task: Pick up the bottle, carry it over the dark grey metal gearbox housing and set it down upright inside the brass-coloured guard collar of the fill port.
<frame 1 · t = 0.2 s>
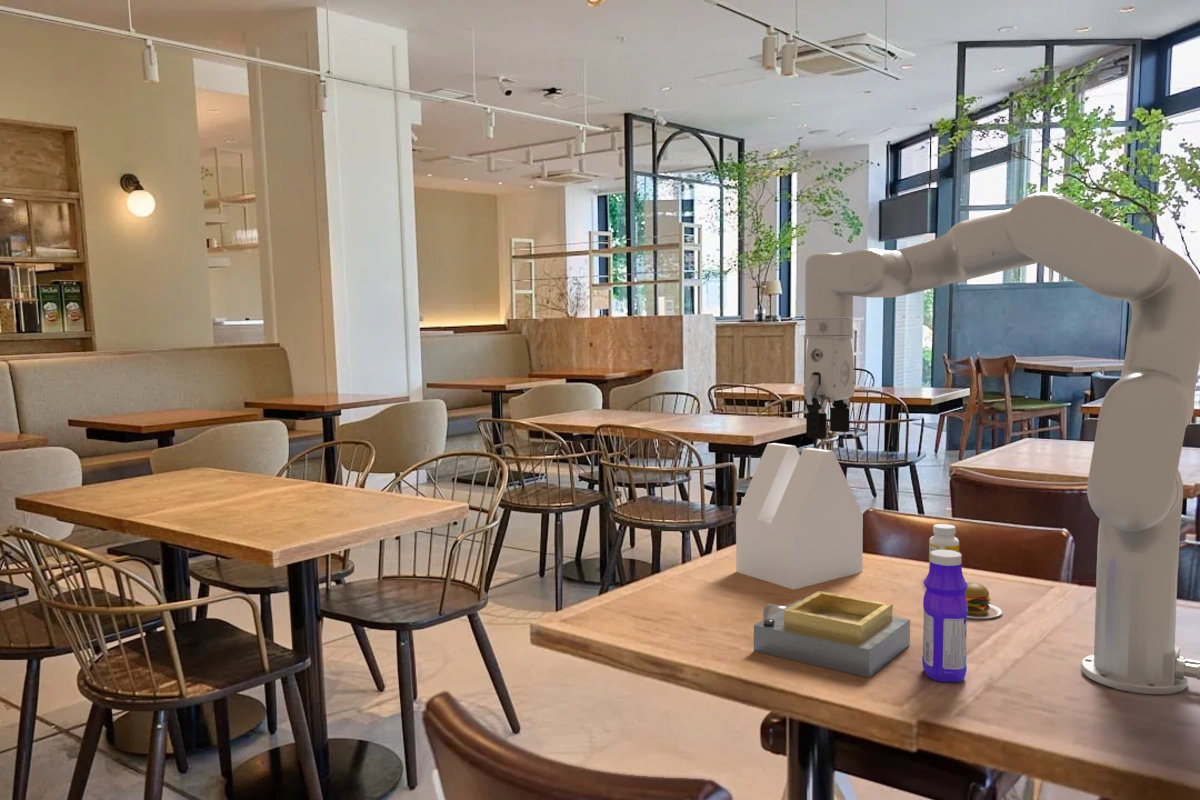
hand: (828, 434, 151), 31 cm above the table, fingers open, 9 cm apart
milk carton: (799, 573, 182), on the table
supplement bottle: (943, 577, 177), on the table
hamburger: (973, 616, 155), on the table
gearbox: (832, 647, 139), on the table
bottle: (944, 676, 128), on the table
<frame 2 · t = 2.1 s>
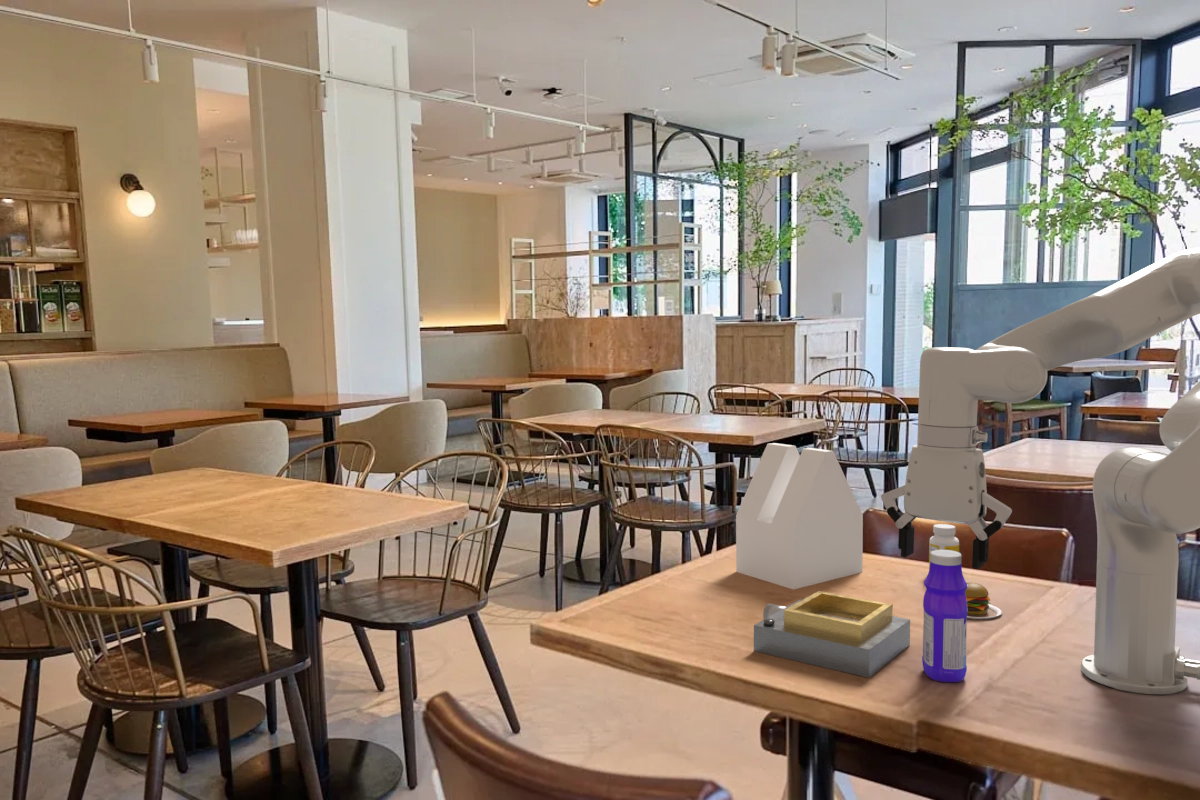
hand: (941, 560, 127), 16 cm above the table, fingers open, 9 cm apart
nothing on the table moved.
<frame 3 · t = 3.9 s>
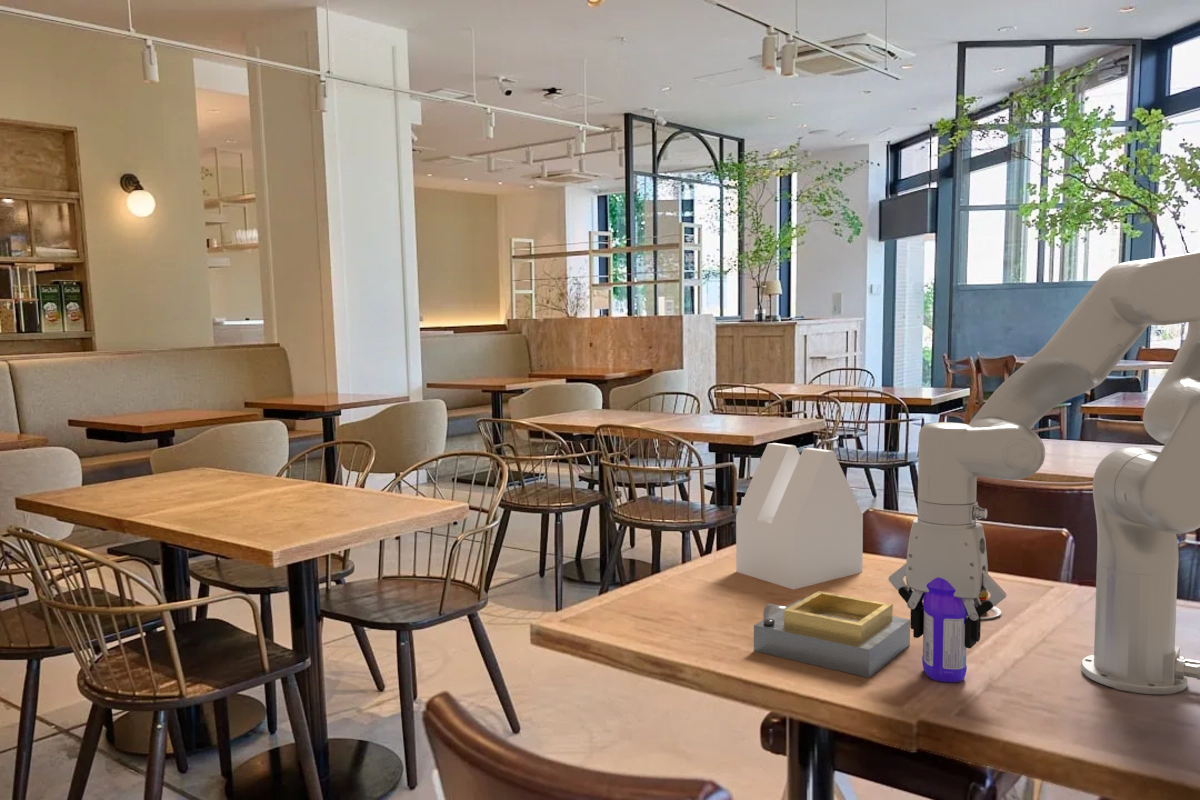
hand: (944, 639, 128), 5 cm above the table, fingers closed on bottle, 6 cm apart
bottle: (944, 676, 128), on the table, touching gripper
everything else where it was.
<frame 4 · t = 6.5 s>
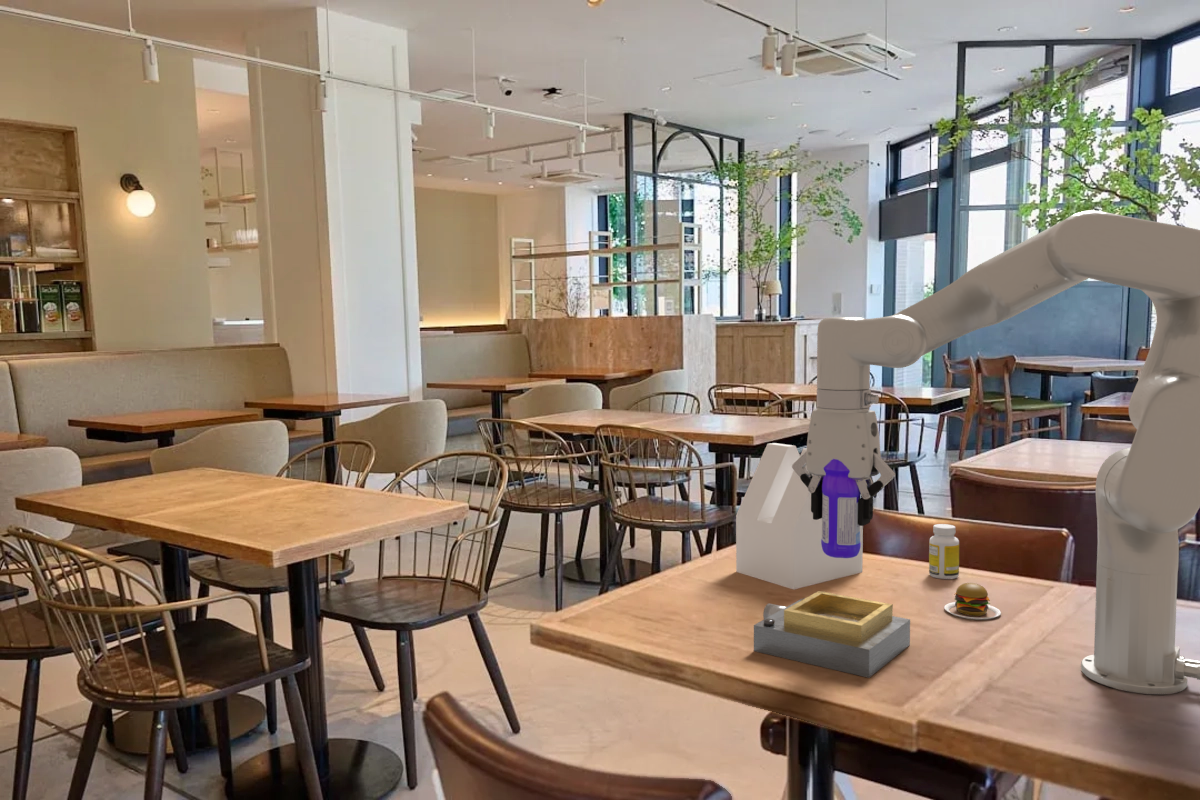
hand: (841, 520, 137), 20 cm above the table, fingers closed on bottle, 6 cm apart
bottle: (840, 555, 137), point 15 cm above the table, touching gripper
everything else where it was.
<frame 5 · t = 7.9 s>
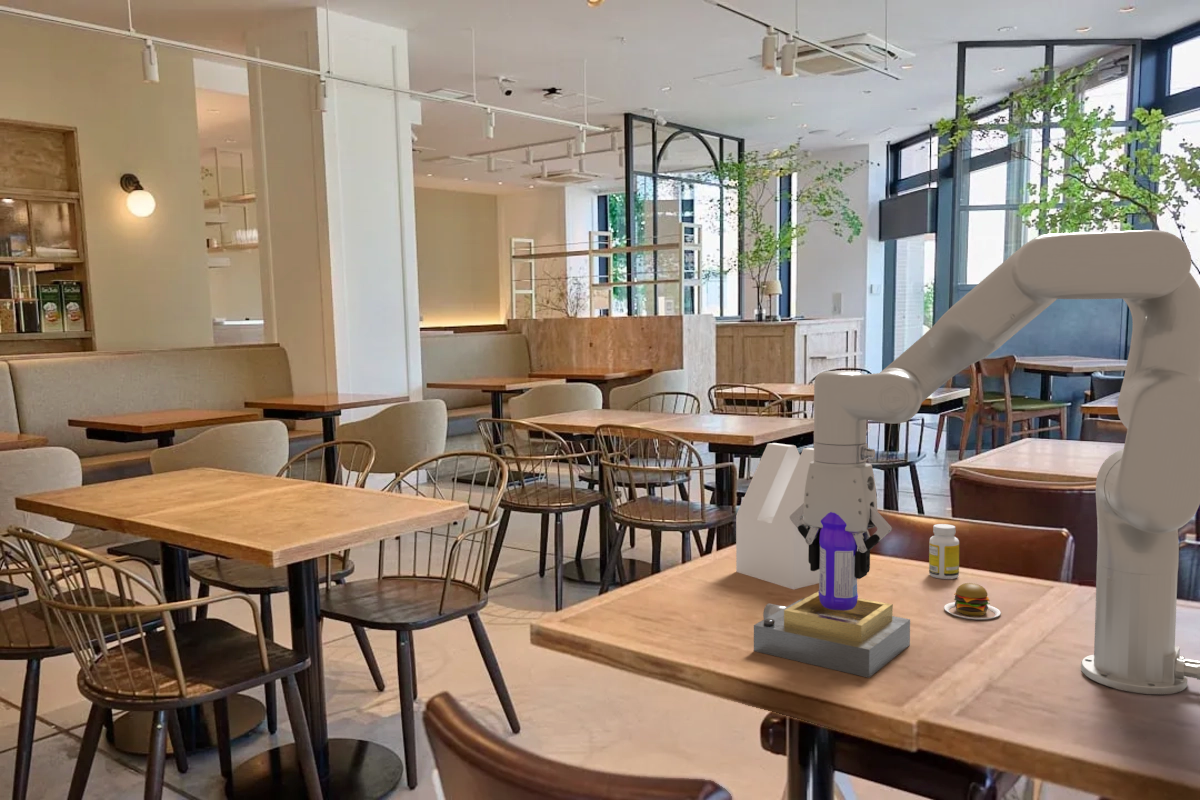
hand: (838, 571, 138), 12 cm above the table, fingers closed on bottle, 6 cm apart
bottle: (838, 606, 138), point 7 cm above the table, touching gripper
everything else where it was.
when the fingers open (10 cm above the table, at t = 9.1 s): bottle drops 1 cm, resting on gearbox.
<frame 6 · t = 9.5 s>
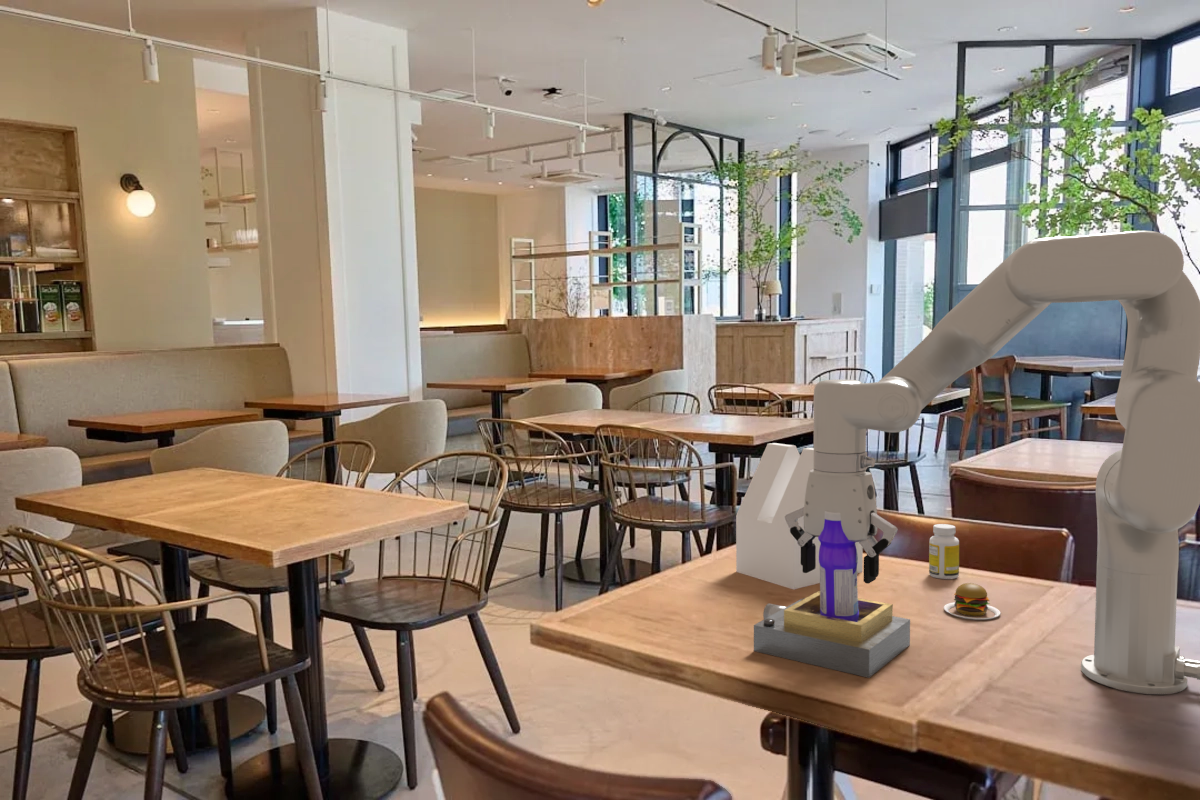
hand: (838, 575, 138), 11 cm above the table, fingers open, 9 cm apart
bottle: (839, 623, 138), point 4 cm above the table, touching gearbox
everything else where it was.
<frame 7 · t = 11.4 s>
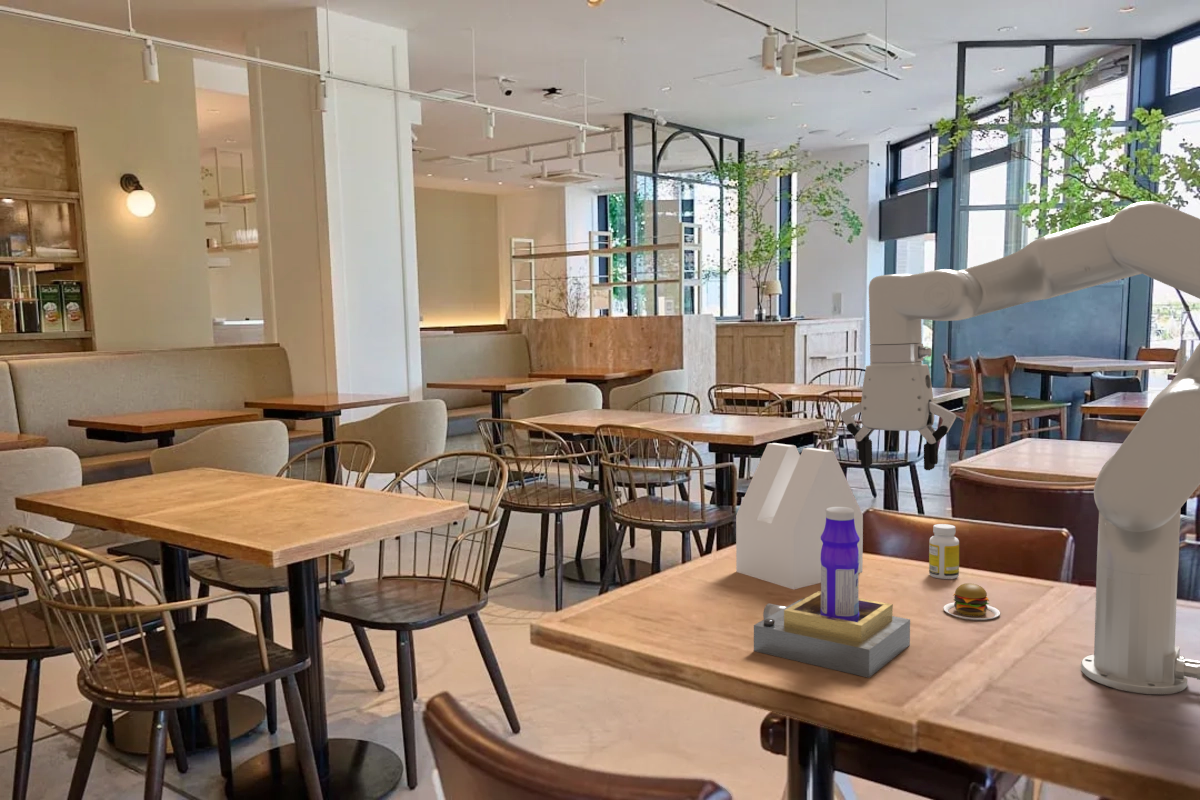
hand: (897, 467, 141), 27 cm above the table, fingers open, 9 cm apart
nothing on the table moved.
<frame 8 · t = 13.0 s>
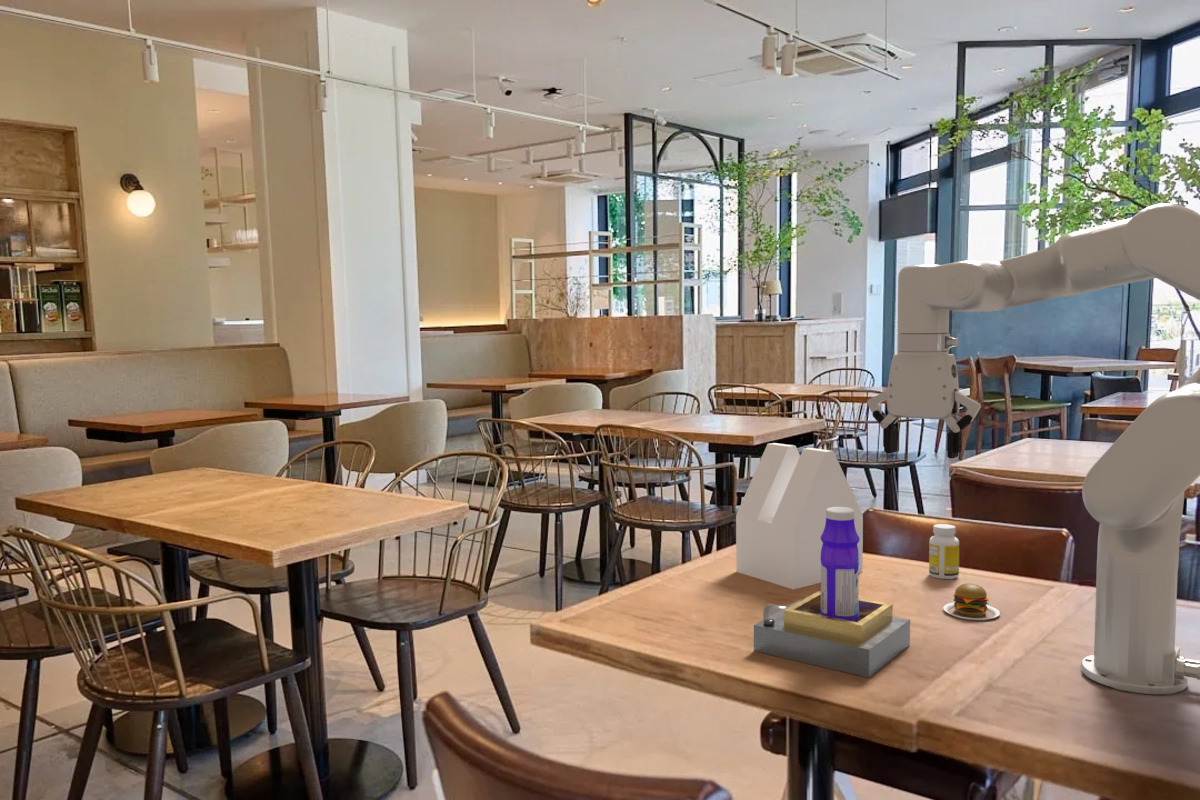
hand: (921, 454, 144), 28 cm above the table, fingers open, 9 cm apart
at the end: bottle inside the target area on the gearbox (0.2 cm from its centre), point 3.9 cm above the gearbox's base; bottle tilted 0°; the gripper is holding nothing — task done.
